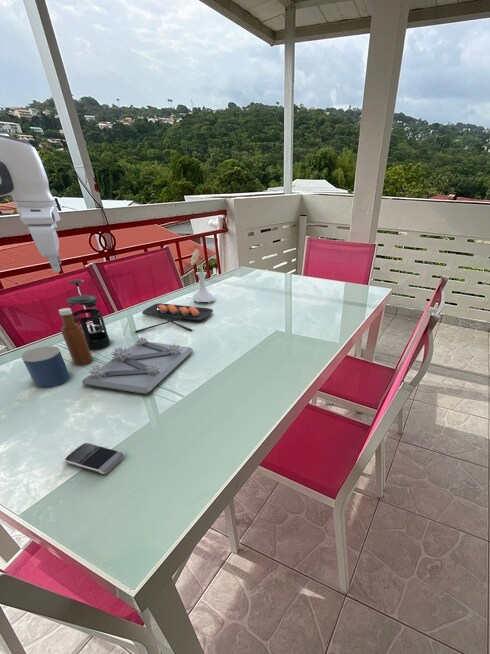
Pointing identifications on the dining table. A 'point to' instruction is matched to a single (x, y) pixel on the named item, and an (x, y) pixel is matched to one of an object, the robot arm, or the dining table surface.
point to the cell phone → (94, 458)
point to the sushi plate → (176, 313)
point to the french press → (91, 330)
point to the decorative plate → (138, 366)
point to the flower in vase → (201, 283)
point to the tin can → (46, 366)
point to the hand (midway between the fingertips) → (57, 267)
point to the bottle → (75, 339)
